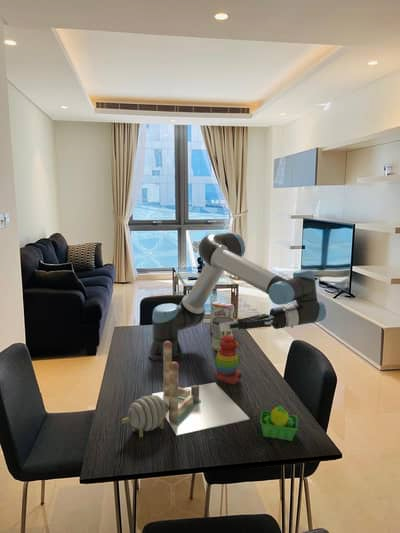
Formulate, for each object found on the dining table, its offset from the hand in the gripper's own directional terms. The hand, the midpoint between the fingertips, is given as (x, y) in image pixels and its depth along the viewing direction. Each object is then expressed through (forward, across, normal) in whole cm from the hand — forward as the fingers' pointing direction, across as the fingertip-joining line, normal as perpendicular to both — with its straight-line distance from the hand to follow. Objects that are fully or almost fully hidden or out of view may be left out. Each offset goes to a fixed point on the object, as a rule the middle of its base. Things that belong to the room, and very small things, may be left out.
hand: (220, 327), depth 144 cm
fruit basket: (-10, -18, -34) cm, 39 cm away
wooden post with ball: (+16, +9, -25) cm, 31 cm away
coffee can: (-11, +55, -20) cm, 59 cm away
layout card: (+11, +3, -27) cm, 29 cm away
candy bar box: (-16, +74, -17) cm, 77 cm away
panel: (+18, -2, -26) cm, 31 cm away
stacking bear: (-5, +24, -25) cm, 35 cm away
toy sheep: (+30, -8, -27) cm, 41 cm away
